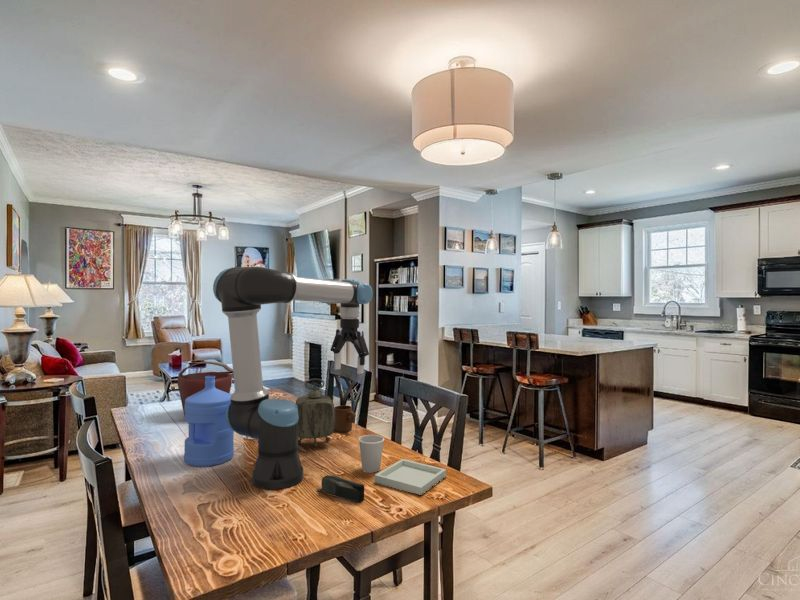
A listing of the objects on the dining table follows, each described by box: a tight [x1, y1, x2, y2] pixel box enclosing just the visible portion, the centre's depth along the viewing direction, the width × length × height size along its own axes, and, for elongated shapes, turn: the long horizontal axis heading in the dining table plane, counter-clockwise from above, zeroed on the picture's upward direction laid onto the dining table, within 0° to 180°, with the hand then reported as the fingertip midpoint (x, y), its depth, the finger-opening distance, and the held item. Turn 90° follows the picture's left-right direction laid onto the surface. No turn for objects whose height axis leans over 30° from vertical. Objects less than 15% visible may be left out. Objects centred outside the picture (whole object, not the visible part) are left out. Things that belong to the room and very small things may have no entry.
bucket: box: [177, 361, 234, 417], centre depth 204 cm, size 24×22×25 cm
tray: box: [374, 458, 447, 496], centre depth 137 cm, size 16×16×2 cm
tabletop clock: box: [294, 377, 335, 448], centre depth 167 cm, size 14×9×25 cm, turn 108°
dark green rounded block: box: [316, 474, 365, 503], centre depth 126 cm, size 5×3×15 cm
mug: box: [334, 405, 356, 433], centre depth 185 cm, size 12×8×9 cm, turn 40°
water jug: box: [183, 376, 235, 467], centre depth 152 cm, size 16×16×28 cm
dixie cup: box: [358, 434, 385, 474], centre depth 145 cm, size 8×8×10 cm
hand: (348, 371), depth 179 cm, fingers open, 13 cm apart
